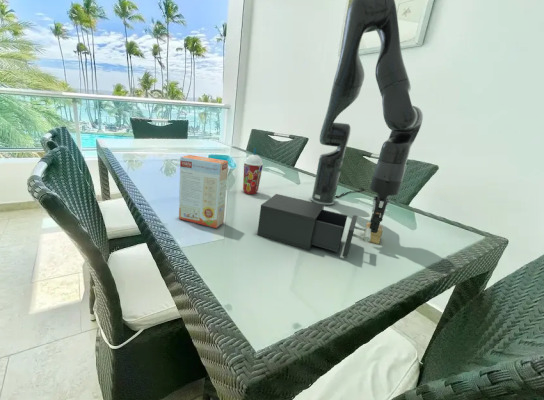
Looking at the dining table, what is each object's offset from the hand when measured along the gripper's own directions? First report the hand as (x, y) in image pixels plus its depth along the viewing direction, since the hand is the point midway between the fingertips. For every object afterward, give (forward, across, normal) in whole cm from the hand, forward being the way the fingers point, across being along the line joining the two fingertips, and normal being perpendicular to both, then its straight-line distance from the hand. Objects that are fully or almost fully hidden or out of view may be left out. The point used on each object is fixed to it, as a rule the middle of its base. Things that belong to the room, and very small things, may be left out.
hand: (373, 227), depth 85 cm
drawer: (+3, +13, -10) cm, 17 cm away
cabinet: (+4, +13, -23) cm, 26 cm away
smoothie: (+4, -18, -50) cm, 53 cm away
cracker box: (+5, +22, -50) cm, 54 cm away
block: (+4, 0, 0) cm, 4 cm away
